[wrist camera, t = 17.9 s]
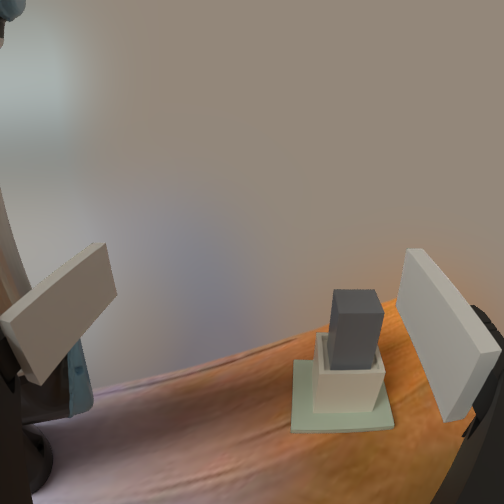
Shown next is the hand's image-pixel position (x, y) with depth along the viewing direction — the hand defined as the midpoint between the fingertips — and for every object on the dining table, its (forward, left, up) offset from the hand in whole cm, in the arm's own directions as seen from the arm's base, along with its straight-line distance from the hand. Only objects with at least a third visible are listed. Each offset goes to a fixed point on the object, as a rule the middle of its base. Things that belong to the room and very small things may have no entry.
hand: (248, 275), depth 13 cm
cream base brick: (+7, +26, -34) cm, 43 cm away
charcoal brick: (+7, +26, -26) cm, 37 cm away
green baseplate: (+7, +26, -35) cm, 44 cm away
